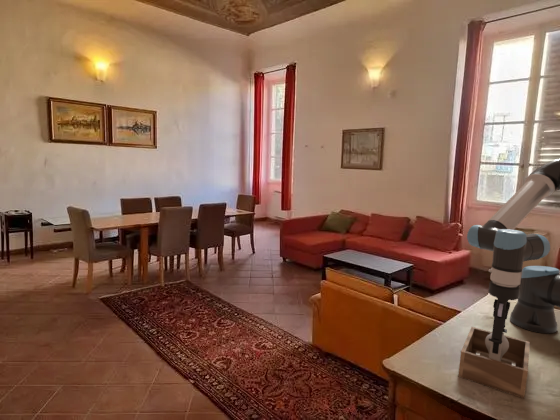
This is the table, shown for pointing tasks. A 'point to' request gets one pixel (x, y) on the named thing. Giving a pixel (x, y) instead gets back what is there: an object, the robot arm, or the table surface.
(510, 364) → the crate
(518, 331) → the table surface
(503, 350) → the lightbulb
